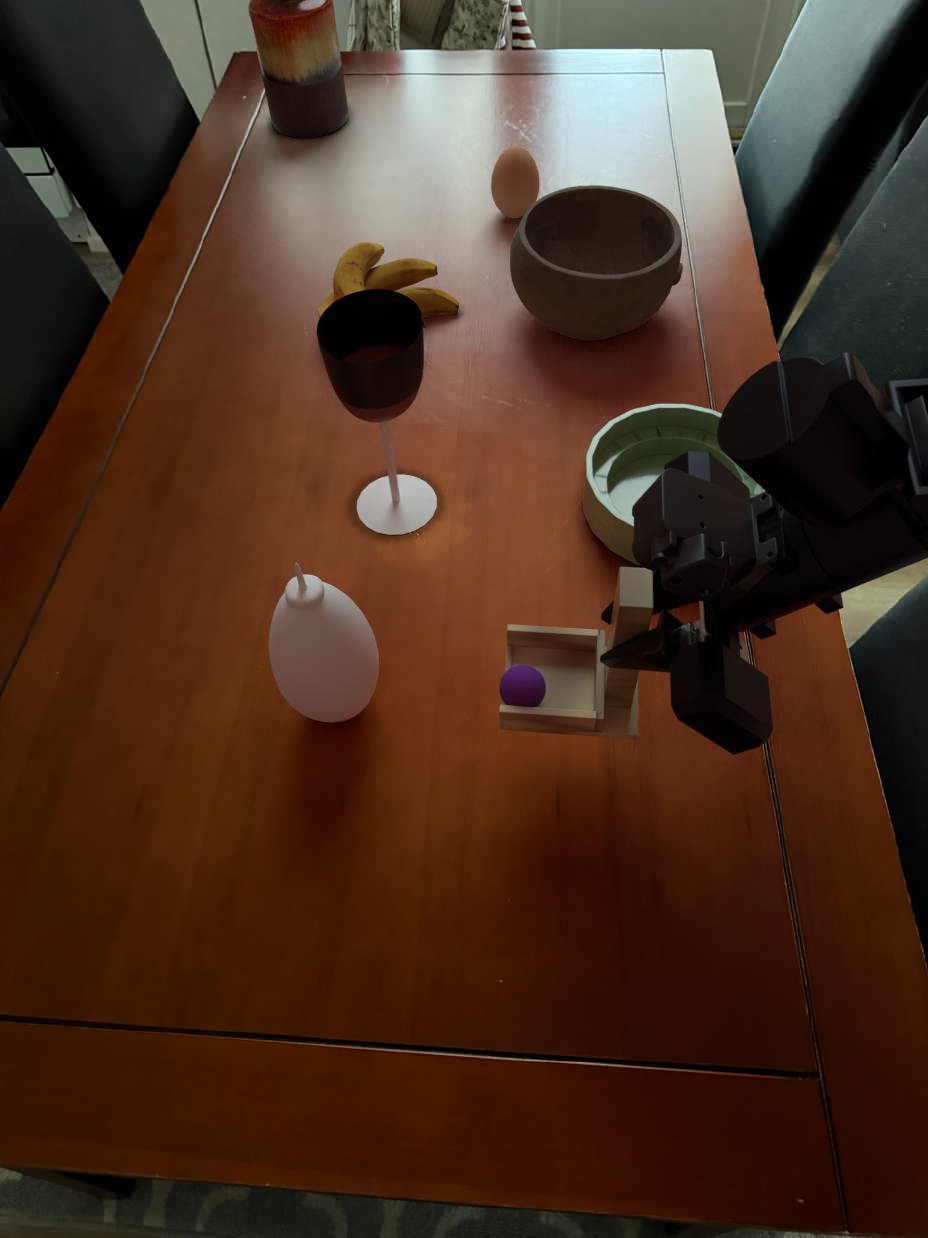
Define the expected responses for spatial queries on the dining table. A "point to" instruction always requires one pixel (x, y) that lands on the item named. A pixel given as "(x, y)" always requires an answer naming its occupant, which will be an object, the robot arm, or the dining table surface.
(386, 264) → the banana
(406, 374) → the wineglass
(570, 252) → the bowl
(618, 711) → the scoop
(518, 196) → the egg
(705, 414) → the green bowl
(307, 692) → the sauce bottle
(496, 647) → the dining table surface
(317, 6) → the vase
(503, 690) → the ball
